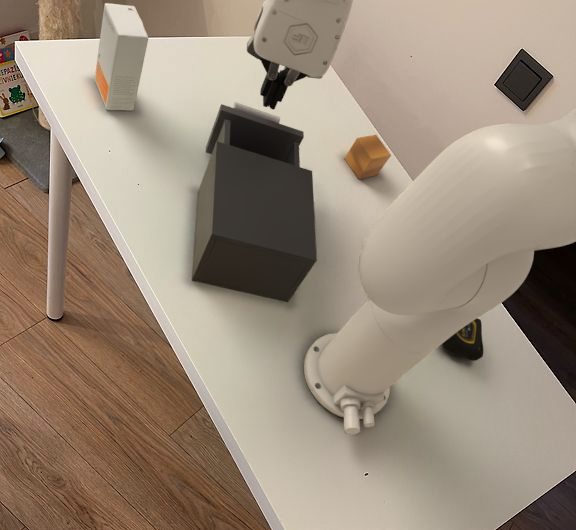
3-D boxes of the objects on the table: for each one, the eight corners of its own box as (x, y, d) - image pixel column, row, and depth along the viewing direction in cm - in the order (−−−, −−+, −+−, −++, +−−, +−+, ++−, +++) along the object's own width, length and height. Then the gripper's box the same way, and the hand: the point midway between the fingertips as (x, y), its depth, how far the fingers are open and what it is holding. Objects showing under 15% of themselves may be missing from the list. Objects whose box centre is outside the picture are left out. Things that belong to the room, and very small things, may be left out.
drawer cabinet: (197, 192, 85) (216, 140, 77) (285, 217, 89) (312, 170, 82) (191, 280, 77) (211, 233, 70) (287, 302, 82) (317, 260, 74)
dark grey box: (207, 124, 90) (222, 80, 84) (282, 148, 95) (302, 108, 88) (201, 221, 81) (217, 180, 75) (285, 243, 86) (307, 206, 79)
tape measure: (472, 367, 91) (488, 355, 88) (434, 353, 89) (449, 340, 86) (470, 331, 94) (486, 318, 91) (434, 316, 92) (448, 303, 89)
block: (377, 175, 103) (391, 155, 99) (358, 179, 100) (372, 159, 96) (362, 154, 104) (376, 134, 100) (344, 158, 101) (356, 137, 97)
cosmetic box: (92, 80, 86) (103, 1, 77) (121, 81, 89) (135, 4, 79) (105, 111, 85) (118, 34, 75) (134, 112, 87) (150, 37, 77)
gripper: (262, -40, 64) (215, 102, 79) (383, 11, 69) (318, 135, 84) (262, -76, 68) (217, 67, 83) (377, -24, 73) (315, 101, 88)
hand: (268, 101), depth 83 cm, fingers closed
